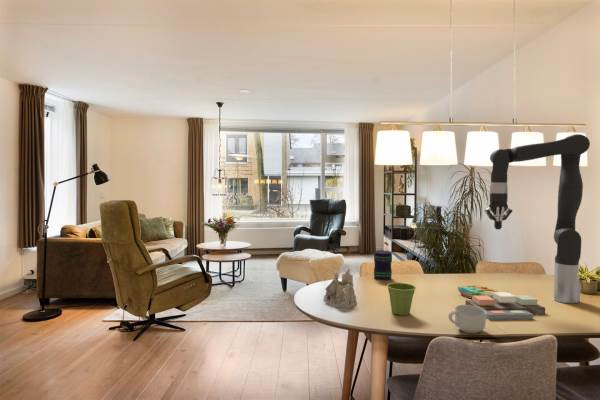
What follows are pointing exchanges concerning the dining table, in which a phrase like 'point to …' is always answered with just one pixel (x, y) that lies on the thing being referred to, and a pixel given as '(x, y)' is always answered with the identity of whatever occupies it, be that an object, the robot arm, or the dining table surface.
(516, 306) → the keypad base
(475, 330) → the teacup
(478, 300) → the key terracotta
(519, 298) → the key sage
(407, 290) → the plant pot
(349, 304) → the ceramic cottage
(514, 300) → the key cream
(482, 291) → the puzzle game
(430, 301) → the dining table surface
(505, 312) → the card
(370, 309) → the dining table surface
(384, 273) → the storage jar
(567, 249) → the robot arm
